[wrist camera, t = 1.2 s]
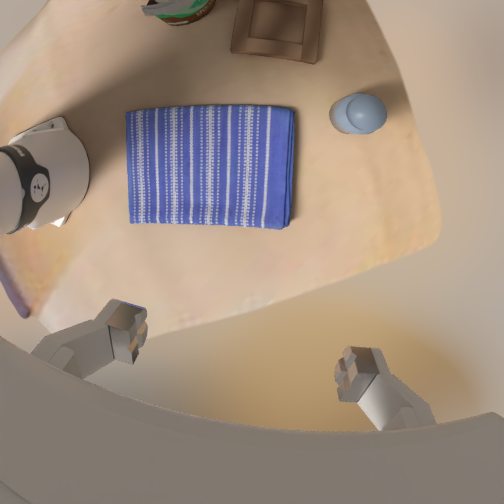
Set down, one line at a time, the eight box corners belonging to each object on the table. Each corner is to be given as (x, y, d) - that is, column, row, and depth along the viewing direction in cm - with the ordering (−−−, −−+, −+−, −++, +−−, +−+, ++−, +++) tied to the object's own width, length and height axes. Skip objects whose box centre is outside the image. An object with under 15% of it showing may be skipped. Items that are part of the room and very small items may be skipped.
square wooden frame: (231, 53, 31) (230, 49, 29) (243, -9, 26) (242, -14, 25) (313, 64, 31) (316, 61, 29) (321, 2, 26) (323, -3, 25)
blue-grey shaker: (327, 129, 34) (345, 128, 26) (332, 95, 32) (351, 84, 24) (361, 137, 35) (387, 139, 26) (366, 104, 33) (393, 97, 24)
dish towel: (288, 228, 41) (289, 235, 38) (133, 222, 41) (125, 228, 39) (296, 108, 34) (298, 106, 31) (129, 111, 35) (120, 110, 32)
